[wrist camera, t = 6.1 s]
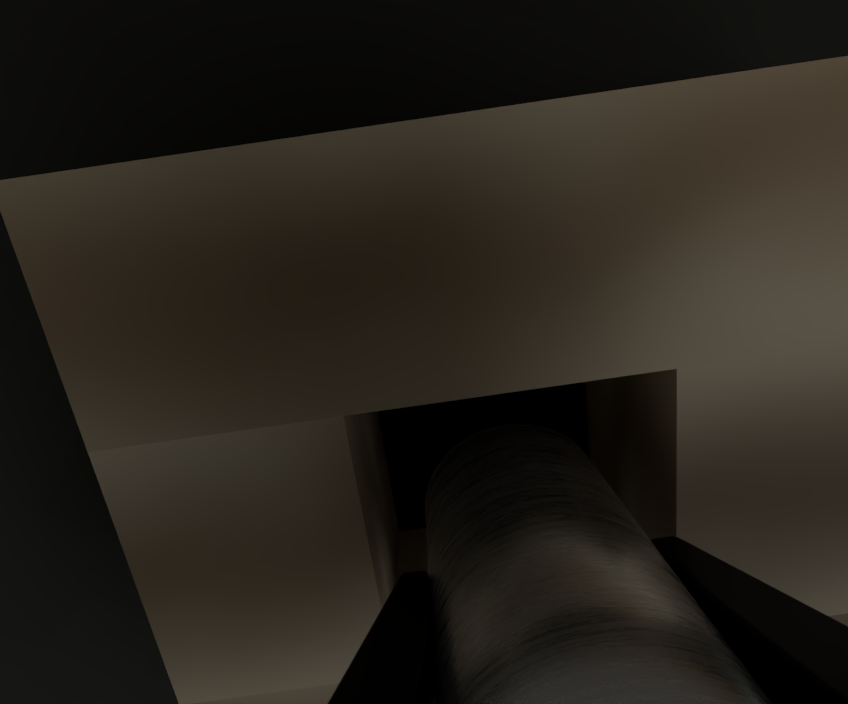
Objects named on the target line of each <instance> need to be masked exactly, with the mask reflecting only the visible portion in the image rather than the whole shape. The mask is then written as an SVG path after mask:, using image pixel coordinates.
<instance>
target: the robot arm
mask: <svg viewBox="0 0 848 704" xmlns="http://www.w3.org/2000/svg"><path fill="white" fill-rule="evenodd" d="M651 542H652V543H653V544H654V546H655V547H656V548H657V550H658V551H659V552H660V554H661V555H662V556H663V558H664V559H665V560H666V562H667V563H668V564H669V566H670V567H671V568H672V570H673V571H674V573H675V574H676V575H677V577H678V578H679V579H680V581H681V582H682V583H683V585H684V586H685V587H686V589H687V590H688V591H689V593H690V594H691V595H692V597H693V598H694V599H695V601H696V602H697V603H698V605H699V606H700V607H701V609H702V610H703V611H704V613H705V614H706V615H707V617H708V618H709V619H710V621H711V622H712V623H713V625H714V626H715V627H716V629H717V630H718V631H719V633H720V634H721V635H722V637H723V638H724V639H725V641H726V642H727V643H728V645H729V646H730V648H731V649H732V650H733V652H734V653H735V654H736V656H737V657H738V658H739V660H740V661H741V662H742V664H743V665H744V666H745V668H746V669H747V670H748V672H749V673H750V674H751V676H752V677H753V678H754V680H755V681H756V682H757V684H758V685H759V686H760V688H761V689H762V690H763V692H764V693H765V694H766V696H767V697H768V698H769V700H770V701H771V702H772V704H848V626H846V625H844V624H842V623H840V622H839V621H837V620H835V619H833V618H831V617H829V616H827V615H825V614H823V613H821V612H820V611H818V610H816V609H814V608H812V607H810V606H808V605H806V604H804V603H802V602H801V601H799V600H797V599H795V598H793V597H791V596H789V595H787V594H785V593H783V592H781V591H780V590H778V589H776V588H774V587H772V586H770V585H768V584H766V583H764V582H762V581H761V580H759V579H757V578H755V577H753V576H751V575H749V574H747V573H745V572H743V571H742V570H740V569H738V568H736V567H734V566H732V565H730V564H728V563H726V562H724V561H723V560H721V559H719V558H717V557H715V556H713V555H711V554H709V553H707V552H705V551H703V550H702V549H700V548H698V547H696V546H694V545H692V544H690V543H688V542H686V541H684V540H683V539H681V538H678V537H676V536H668V537H661V538H654V539H651ZM328 704H435V687H434V668H433V645H432V627H431V609H430V590H429V578H428V574H427V572H426V571H424V570H421V571H414V572H407V573H403V574H402V575H401V576H400V577H399V579H398V581H397V582H396V584H395V586H394V588H393V589H392V591H391V593H390V595H389V596H388V598H387V600H386V602H385V604H384V605H383V607H382V609H381V611H380V612H379V614H378V616H377V618H376V619H375V621H374V623H373V625H372V626H371V628H370V630H369V632H368V633H367V635H366V637H365V639H364V640H363V642H362V644H361V646H360V648H359V649H358V651H357V653H356V655H355V656H354V658H353V660H352V662H351V663H350V665H349V667H348V669H347V670H346V672H345V674H344V676H343V677H342V679H341V681H340V683H339V684H338V686H337V688H336V690H335V692H334V693H333V695H332V697H331V699H330V700H329V702H328Z"/></svg>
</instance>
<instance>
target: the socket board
mask: <svg viewBox="0 0 848 704" xmlns="http://www.w3.org/2000/svg"><path fill="white" fill-rule="evenodd" d="M0 211H1V214H2V217H3V220H4V222H5V225H6V228H7V231H8V234H9V236H10V239H11V242H12V245H13V247H14V250H15V253H16V256H17V258H18V261H19V264H20V267H21V269H22V272H23V275H24V278H25V280H26V283H27V286H28V289H29V291H30V294H31V297H32V300H33V302H34V305H35V308H36V311H37V314H38V316H39V319H40V322H41V325H42V327H43V330H44V333H45V336H46V338H47V341H48V344H49V347H50V349H51V352H52V355H53V358H54V360H55V363H56V366H57V369H58V371H59V374H60V377H61V380H62V383H63V385H64V388H65V391H66V394H67V396H68V399H69V402H70V405H71V407H72V410H73V413H74V416H75V418H76V421H77V424H78V427H79V429H80V432H81V435H82V438H83V440H84V443H85V446H86V449H87V452H88V454H89V457H90V460H91V463H92V465H93V468H94V471H95V474H96V476H97V479H98V482H99V485H100V487H101V490H102V493H103V496H104V498H105V501H106V504H107V507H108V509H109V512H110V515H111V518H112V521H113V523H114V526H115V529H116V532H117V534H118V537H119V540H120V543H121V545H122V548H123V551H124V554H125V556H126V559H127V562H128V565H129V567H130V570H131V573H132V576H133V578H134V581H135V584H136V587H137V590H138V592H139V595H140V598H141V601H142V603H143V606H144V609H145V612H146V614H147V617H148V620H149V623H150V625H151V628H152V631H153V634H154V636H155V639H156V642H157V645H158V647H159V650H160V653H161V656H162V659H163V661H164V664H165V667H166V670H167V672H168V675H169V678H170V681H171V683H172V686H173V689H174V692H175V694H176V697H177V700H178V703H179V704H328V702H329V700H330V699H331V697H332V695H333V693H334V692H335V690H336V688H337V686H338V684H339V683H340V681H341V679H342V677H343V676H344V674H345V672H346V670H347V669H348V667H349V665H350V663H351V662H352V660H353V658H354V656H355V655H356V653H357V651H358V649H359V648H360V646H361V644H362V642H363V640H364V639H365V637H366V635H367V633H368V632H369V630H370V628H371V626H372V625H373V623H374V621H375V619H376V618H377V616H378V614H379V612H380V611H381V609H382V607H383V605H384V604H385V602H386V600H387V598H388V596H389V595H390V593H391V591H392V589H393V588H394V586H395V584H396V582H397V581H398V579H399V577H400V576H401V575H402V574H403V573H407V572H414V571H421V570H424V571H426V572H427V574H428V557H427V538H426V528H419V529H412V530H405V531H399V527H398V522H397V516H396V510H395V505H394V499H393V493H392V488H391V482H390V477H389V471H388V465H387V460H386V454H385V449H384V443H383V437H382V432H381V426H380V420H379V415H378V411H383V410H390V409H397V408H404V407H411V406H418V405H425V404H432V403H439V402H446V401H453V400H460V399H467V398H474V397H481V396H488V395H496V394H503V393H510V392H517V391H524V390H531V389H538V388H545V387H552V386H559V385H566V384H573V383H580V382H586V401H587V420H588V439H589V459H590V460H591V461H592V463H593V464H594V465H595V467H596V468H597V469H598V471H599V472H600V473H601V475H602V476H603V477H604V479H605V480H606V481H607V483H608V484H609V485H610V487H611V488H612V489H613V491H614V492H615V493H616V495H617V496H618V498H619V499H620V500H621V502H622V503H623V504H624V506H625V507H626V508H627V510H628V511H629V512H630V514H631V515H632V516H633V518H634V519H635V520H636V522H637V523H638V524H639V526H640V527H641V528H642V530H643V531H644V532H645V534H646V535H647V536H648V538H649V539H650V540H651V539H654V538H661V537H668V536H676V537H678V538H681V539H683V540H684V541H686V542H688V543H690V544H692V545H694V546H696V547H698V548H700V549H702V550H703V551H705V552H707V553H709V554H711V555H713V556H715V557H717V558H719V559H721V560H723V561H724V562H726V563H728V564H730V565H732V566H734V567H736V568H738V569H740V570H742V571H743V572H745V573H747V574H749V575H751V576H753V577H755V578H757V579H759V580H761V581H762V582H764V583H766V584H768V585H770V586H772V587H774V588H776V589H778V590H780V591H781V592H783V593H785V594H787V595H789V596H791V597H793V598H795V599H797V600H799V601H801V602H802V603H804V604H806V605H808V606H810V607H812V608H814V609H816V610H818V611H820V612H821V613H823V614H825V615H827V616H829V617H831V618H833V619H835V620H837V621H839V622H840V623H842V624H844V625H846V626H848V56H844V57H837V58H831V59H824V60H817V61H810V62H803V63H797V64H790V65H783V66H776V67H769V68H762V69H756V70H749V71H742V72H735V73H728V74H722V75H715V76H708V77H701V78H694V79H687V80H681V81H674V82H667V83H660V84H653V85H647V86H640V87H633V88H626V89H619V90H612V91H606V92H599V93H592V94H585V95H578V96H572V97H565V98H558V99H551V100H544V101H537V102H531V103H524V104H517V105H510V106H503V107H497V108H490V109H483V110H476V111H469V112H462V113H456V114H449V115H442V116H435V117H428V118H422V119H415V120H408V121H401V122H394V123H387V124H381V125H374V126H367V127H360V128H353V129H347V130H340V131H333V132H326V133H319V134H312V135H306V136H299V137H292V138H285V139H278V140H272V141H265V142H258V143H251V144H244V145H237V146H231V147H224V148H217V149H210V150H203V151H197V152H190V153H183V154H176V155H169V156H162V157H156V158H149V159H142V160H135V161H128V162H122V163H115V164H108V165H101V166H94V167H87V168H81V169H74V170H67V171H60V172H53V173H47V174H40V175H33V176H26V177H19V178H12V179H6V180H0ZM428 578H429V575H428Z"/></svg>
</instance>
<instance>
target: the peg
mask: <svg viewBox="0 0 848 704" xmlns="http://www.w3.org/2000/svg"><path fill="white" fill-rule="evenodd" d="M425 519H426V538H427V557H428V575H429V590H430V609H431V627H432V645H433V668H434V687H435V704H772V702H771V701H770V700H769V698H768V697H767V696H766V694H765V693H764V692H763V690H762V689H761V688H760V686H759V685H758V684H757V682H756V681H755V680H754V678H753V677H752V676H751V674H750V673H749V672H748V670H747V669H746V668H745V666H744V665H743V664H742V662H741V661H740V660H739V658H738V657H737V656H736V654H735V653H734V652H733V650H732V649H731V648H730V646H729V645H728V643H727V642H726V641H725V639H724V638H723V637H722V635H721V634H720V633H719V631H718V630H717V629H716V627H715V626H714V625H713V623H712V622H711V621H710V619H709V618H708V617H707V615H706V614H705V613H704V611H703V610H702V609H701V607H700V606H699V605H698V603H697V602H696V601H695V599H694V598H693V597H692V595H691V594H690V593H689V591H688V590H687V589H686V587H685V586H684V585H683V583H682V582H681V581H680V579H679V578H678V577H677V575H676V574H675V573H674V571H673V570H672V568H671V567H670V566H669V564H668V563H667V562H666V560H665V559H664V558H663V556H662V555H661V554H660V552H659V551H658V550H657V548H656V547H655V546H654V544H653V543H652V542H651V540H650V539H649V538H648V536H647V535H646V534H645V532H644V531H643V530H642V528H641V527H640V526H639V524H638V523H637V522H636V520H635V519H634V518H633V516H632V515H631V514H630V512H629V511H628V510H627V508H626V507H625V506H624V504H623V503H622V502H621V500H620V499H619V498H618V496H617V495H616V493H615V492H614V491H613V489H612V488H611V487H610V485H609V484H608V483H607V481H606V480H605V479H604V477H603V476H602V475H601V473H600V472H599V471H598V469H597V468H596V467H595V465H594V464H593V463H592V461H591V460H590V459H589V457H588V456H587V455H586V453H585V452H584V451H583V450H582V449H581V448H580V447H579V446H578V445H577V444H576V443H575V442H573V441H572V440H571V439H570V438H568V437H566V436H565V435H563V434H562V433H559V432H557V431H555V430H553V429H550V428H547V427H544V426H541V425H535V424H529V423H509V424H501V425H496V426H492V427H489V428H486V429H483V430H480V431H478V432H476V433H474V434H472V435H470V436H468V437H467V438H465V439H463V440H462V441H460V442H459V443H458V444H456V445H455V446H454V447H453V448H452V449H450V451H449V452H448V453H447V454H446V455H445V456H444V457H443V458H442V459H441V461H440V462H439V464H438V465H437V466H436V468H435V470H434V472H433V474H432V476H431V478H430V481H429V484H428V487H427V491H426V496H425Z"/></svg>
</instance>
